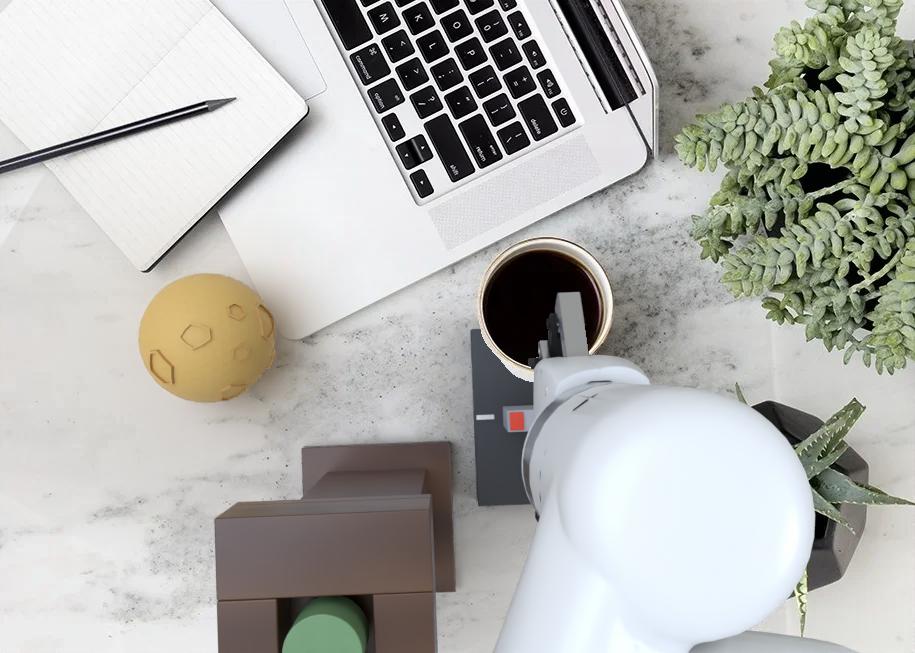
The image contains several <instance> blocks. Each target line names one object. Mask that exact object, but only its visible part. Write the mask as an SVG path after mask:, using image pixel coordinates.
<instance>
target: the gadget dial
mask: <svg viewBox="0 0 915 653" xmlns="http://www.w3.org/2000/svg"><path fill="white" fill-rule="evenodd" d="M533 422H534V405H525V406H504V407H503V426H504V427H505V429H506V430H507V431H508V432H527V431H529V429H530V427H531V425H532V423H533Z"/></svg>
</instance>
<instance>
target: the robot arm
mask: <svg viewBox="0 0 915 653" xmlns="http://www.w3.org/2000/svg"><path fill="white" fill-rule="evenodd" d="M585 325H586V323H585V317H584V310H583V304H582V297H581V292H580V291H571V292H569V291H568V292H567V291H566V292H557V294H556V299H555V305H554V312H550V313H549V316H548V318H546V326H547V329H549V330H548V340H540V341H539V342H538V354H539V357H536V358H529V359H528V365H529V366H531V369H534V394H533V404H534V422H533V423H532V425H531V427H530V429H529V431H528V434H527V436H526V439H525V442H524V447H523V451H522V463H521V465H522V478H523V482H524V486H525V490H526V493H527V496H528V498H529V501H530V503H531V504H530V505H531V506H532V508H533V510H534V518H535V520H536V522H537V525H536V529H535V532H534V533H533V534H534V535H533V536H532V540H531V543H530V545H529V548H528V551H527V554H526V558H525V560H524V563H523V566H522V568H521V569H522V570H521V571H520V575H519V578H518V581H517V583H516V586H515V589H514V592H513V595H512V597H511V601H510V603H509V606H508V608H507V611H506V614H505V617H504V619H503V622H502V625H501V628H500V631H499V633H498V636H497V638H496V642H495V643H494V644H495V645H494V647H493V650H492V653H860V652H859V651H857V650H856V649H852V648H850V647H848V646H845V645H843V644H840V643H836V642H832V641H828V640H823V639H817V638H811V637H803V636H797V635H790V634H782V633H774V632H767V631H760V630H759V631H758V630H750V629H753V628H756V626H758V625H760V624H761V623H763V622H764V621H765V620H766V619H768V618H769V617H770V616H772V615H773V614H774V613H775V612H777V611H778V610H779V609H780V608H781V606H782V605H783V604H784V603H785V602H786V601H787V600H788V599H789V598H790V596H791V595H792V594H793V592H794V591H795V589H796V587H797V586H798V584H799V582H800V581H801V579H802V578H803V575H804V572H805V570H806V569H807V568H806V567H807V565H808V563H809V561H810V558H811V554H812V549H813V544H814V540H815V529H816V528H815V527H816V512H815V504H814V497H813V490H812V488H811V485H810V482H809V478H808V475H807V473H806V470H805V468H804V466H803V464H802V462H801V459H800V458H799V456H798V453H797V452H796V450H795V449H794V447H793V446H792V444H791V443H790V441H789V440H788V438H787V437H786V436H785V435H784V434H783V433H782V432H781V431H780V430H779V429H778V428H777V427H776V426H775V425H774V424H773V423H772V422H771V421H770V420H769V419H768V418H766V417H765V416H764V415H763V414H761V412H759V411H757V410H756V409H755V408H753V407H752V406H750V405H747V404H746V403H745V402H742V401H741V400H738V399H736V398H734V397H731V396H728V395H726V394H723V393H719V392H716V391H711V390H708V389H703V388H698V387H692V386H691V387H690V386H676V385H660V384H651V382H650V380H649V378H648V376H647V375H646V373H645V372H644V371H643V369H641V368H640V367H639V365H637V364H636V363H634V362H633V361H630V359H626V358H623V357H620V356H615V355H608V354H598V355H589V351H588V344H587V337H586V330H585Z"/></svg>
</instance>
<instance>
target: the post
mask: <svg viewBox="0 0 915 653" xmlns="http://www.w3.org/2000/svg"><path fill="white" fill-rule="evenodd" d="M300 450H301V474H302V475H301V476H302V477H301V480H302V481H301V482H302V496H301V498H300V499H322V498H346V497H370V496H394V495H418V494H432V509H433V536H434V562H435V589H436V594H439V593H456V592H457V581H456V555H455V554H456V553H455V530H454V529H455V528H454V510H453V509H454V506H453V505H454V504H453V503H454V502H453V479H452V478H453V477H452V476H453V475H452V454H451V453H452V451H451V440H428V441H426V440H425V441H406V442H379V443H377V442H376V443H354V444H331V445H330V444H329V445H305V446H302V447H301V449H300Z"/></svg>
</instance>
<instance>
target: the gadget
mask: <svg viewBox="0 0 915 653" xmlns="http://www.w3.org/2000/svg"><path fill="white" fill-rule="evenodd" d="M480 329H481V328H471V329H470V330H469V333H470V334H469V335H470V336H469V338H470V357H471V358H470V359H471V361H470V362H471V384H472V385H471V386H472V388H471V389H472V408H473V409H472V410H473V411H472V412H473V436H474V437H473V438H474V462H475V463H474V464H475V487H476V488H475V490H476V503H477V506H478V507H491V506H492V507H495V506H498V507H499V506H517V505H518V506H521V505H531V503H530V501H529V498H528V496H527V493H526V490H525V486H524V482H523V478H522V465H521V463H522V451H523V447H524V442H525V439H526V436H527V434H528V431H527V432H508V431H507V430H506V429H505V427H504V426H503V407H504V406H525V405H534V404H533V394H534V382H529V381H525V380H523V379H521V378H518V377H516V376H515V375H513V374H512V373H511V372H510V371H509V370H508V369H507V368H506V367H505V365H504V364H503V363H502V362H501V360H500V359H499V358H498V357H497V356H496V355H495V354H494V353H493V352H492V350H491V349H490V348H489V347H488V346H487V344H486V343H485V341H484V339H483V337H482V334H481V330H480ZM598 351H599V350H598ZM598 351H597V352H596V353H595V355H599V354H598V353H599V352H598Z"/></svg>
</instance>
